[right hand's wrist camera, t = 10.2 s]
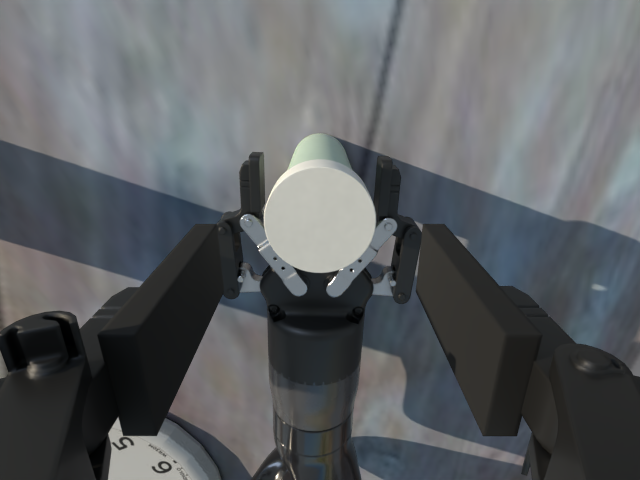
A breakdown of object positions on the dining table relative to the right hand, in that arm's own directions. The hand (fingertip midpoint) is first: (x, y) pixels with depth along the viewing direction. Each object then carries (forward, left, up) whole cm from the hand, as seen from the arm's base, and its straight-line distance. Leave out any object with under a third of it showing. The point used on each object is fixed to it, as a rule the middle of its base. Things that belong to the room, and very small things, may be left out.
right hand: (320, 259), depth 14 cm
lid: (0, 0, -4) cm, 4 cm away
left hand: (0, -2, -13) cm, 13 cm away
